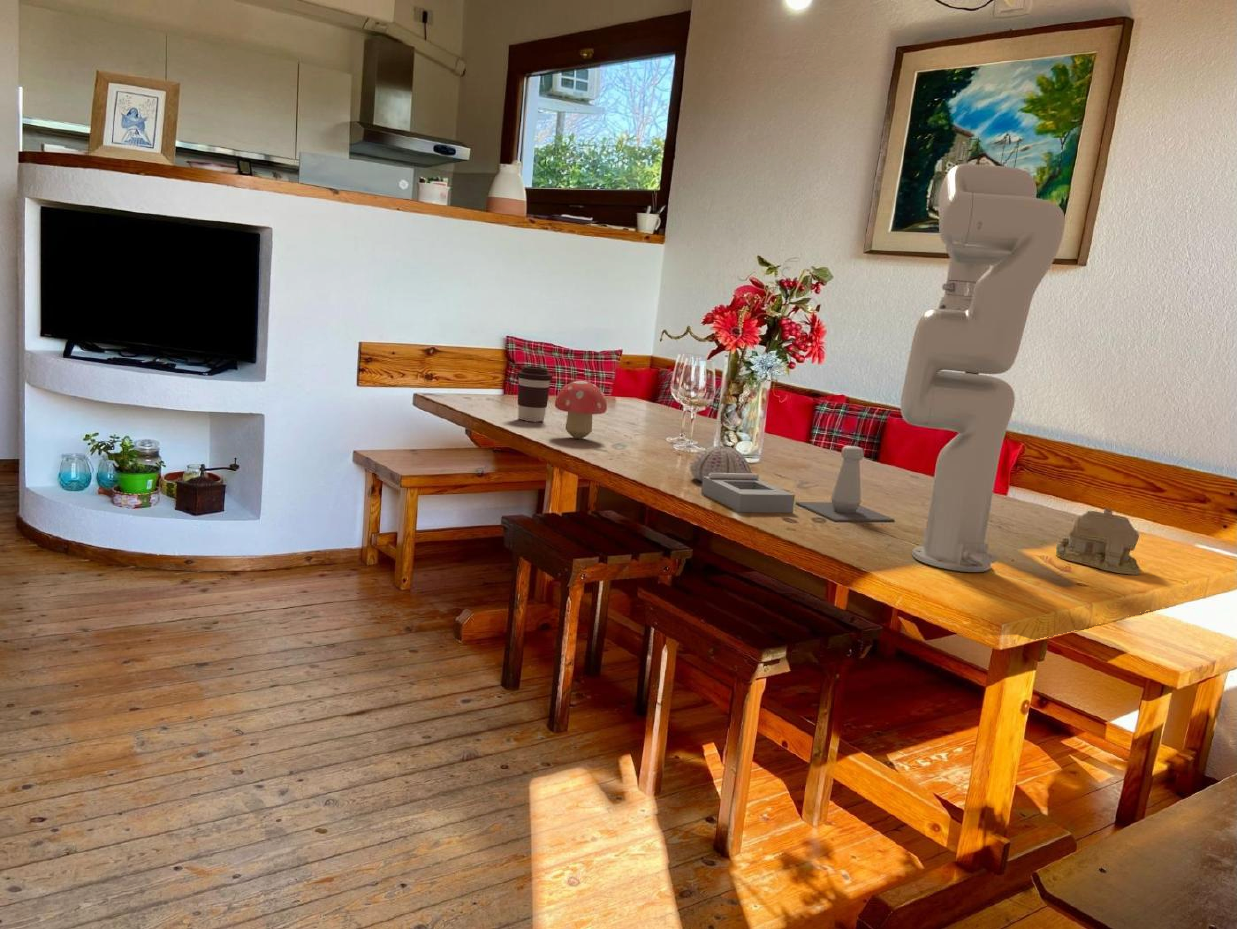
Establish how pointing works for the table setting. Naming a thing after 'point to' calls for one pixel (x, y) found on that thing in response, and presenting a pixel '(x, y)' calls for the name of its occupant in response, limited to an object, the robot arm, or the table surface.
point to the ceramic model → (1101, 542)
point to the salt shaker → (848, 481)
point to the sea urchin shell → (719, 462)
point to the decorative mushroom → (580, 406)
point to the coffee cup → (533, 392)
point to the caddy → (746, 493)
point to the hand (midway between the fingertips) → (951, 379)
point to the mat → (829, 512)
